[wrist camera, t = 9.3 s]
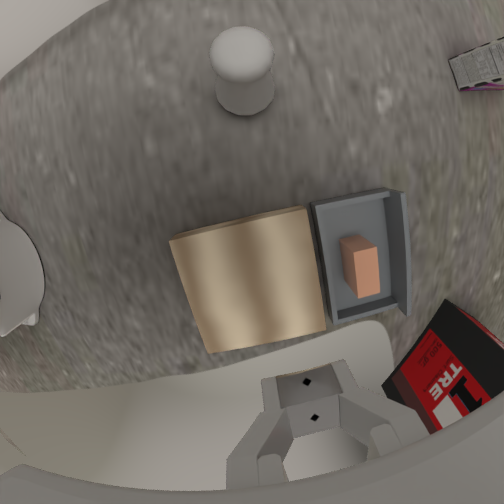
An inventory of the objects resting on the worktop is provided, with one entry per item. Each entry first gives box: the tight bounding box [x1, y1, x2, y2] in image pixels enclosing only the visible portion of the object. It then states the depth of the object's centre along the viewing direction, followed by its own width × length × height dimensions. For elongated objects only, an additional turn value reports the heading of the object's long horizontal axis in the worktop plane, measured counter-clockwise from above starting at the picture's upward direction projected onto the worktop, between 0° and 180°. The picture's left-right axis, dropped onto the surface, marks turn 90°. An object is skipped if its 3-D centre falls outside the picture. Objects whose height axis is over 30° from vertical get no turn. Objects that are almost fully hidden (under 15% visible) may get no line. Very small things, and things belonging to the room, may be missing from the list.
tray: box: [310, 188, 411, 325], centre depth 30 cm, size 9×14×5 cm, turn 13°
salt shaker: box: [209, 26, 275, 115], centre depth 21 cm, size 6×6×13 cm
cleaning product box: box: [381, 299, 504, 435], centre depth 28 cm, size 16×9×20 cm, turn 154°
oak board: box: [169, 205, 326, 354], centre depth 32 cm, size 14×14×3 cm
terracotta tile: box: [339, 234, 380, 299], centre depth 30 cm, size 5×5×2 cm
